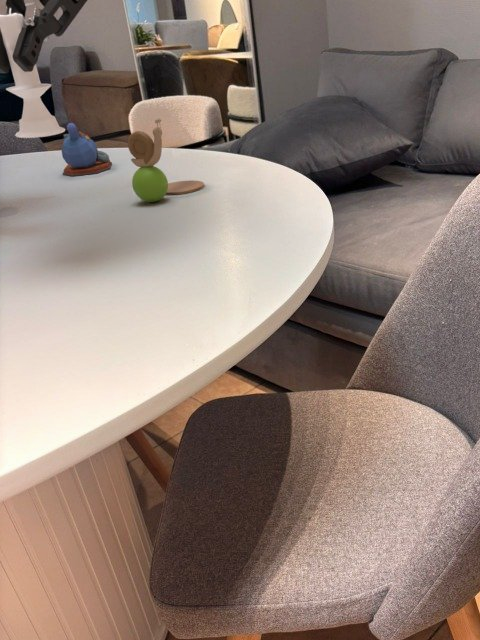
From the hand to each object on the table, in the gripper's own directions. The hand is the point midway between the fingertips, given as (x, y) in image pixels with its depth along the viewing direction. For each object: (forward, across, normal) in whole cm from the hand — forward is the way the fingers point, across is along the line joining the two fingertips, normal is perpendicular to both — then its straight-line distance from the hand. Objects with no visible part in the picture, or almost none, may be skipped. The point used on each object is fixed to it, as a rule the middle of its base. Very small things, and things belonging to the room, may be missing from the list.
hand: (10, 66), depth 66 cm
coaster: (-10, -4, +41) cm, 42 cm away
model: (-21, -34, +52) cm, 65 cm away
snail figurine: (-5, -4, +35) cm, 36 cm away
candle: (+4, 0, +6) cm, 7 cm away
